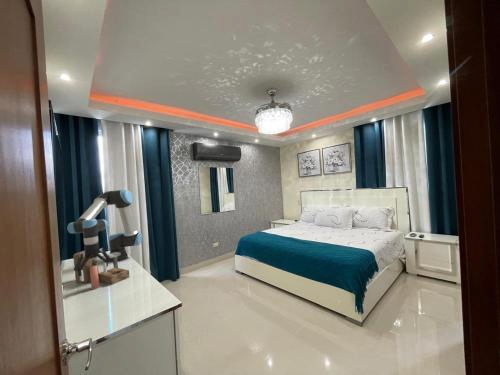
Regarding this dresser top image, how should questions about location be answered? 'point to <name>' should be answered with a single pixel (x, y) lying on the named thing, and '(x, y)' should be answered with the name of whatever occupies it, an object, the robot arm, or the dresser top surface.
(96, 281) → the peg
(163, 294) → the dresser top surface
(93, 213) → the robot arm
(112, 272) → the socket station
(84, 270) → the wooden block
